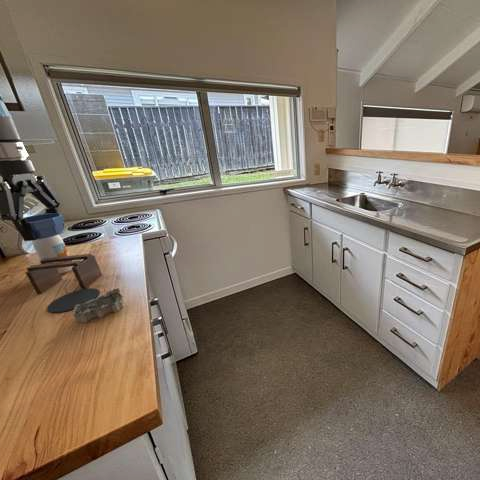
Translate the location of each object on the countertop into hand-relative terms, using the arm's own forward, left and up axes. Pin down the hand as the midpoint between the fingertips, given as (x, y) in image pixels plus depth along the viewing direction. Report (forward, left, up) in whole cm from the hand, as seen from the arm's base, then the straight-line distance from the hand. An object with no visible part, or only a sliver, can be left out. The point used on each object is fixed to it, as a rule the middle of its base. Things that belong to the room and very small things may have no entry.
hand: (46, 233), depth 80 cm
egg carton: (+20, -19, -19) cm, 33 cm away
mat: (+8, -11, -18) cm, 23 cm away
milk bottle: (-11, +12, -19) cm, 25 cm away
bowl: (0, 0, 0) cm, 0 cm away
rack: (0, 0, -18) cm, 18 cm away
